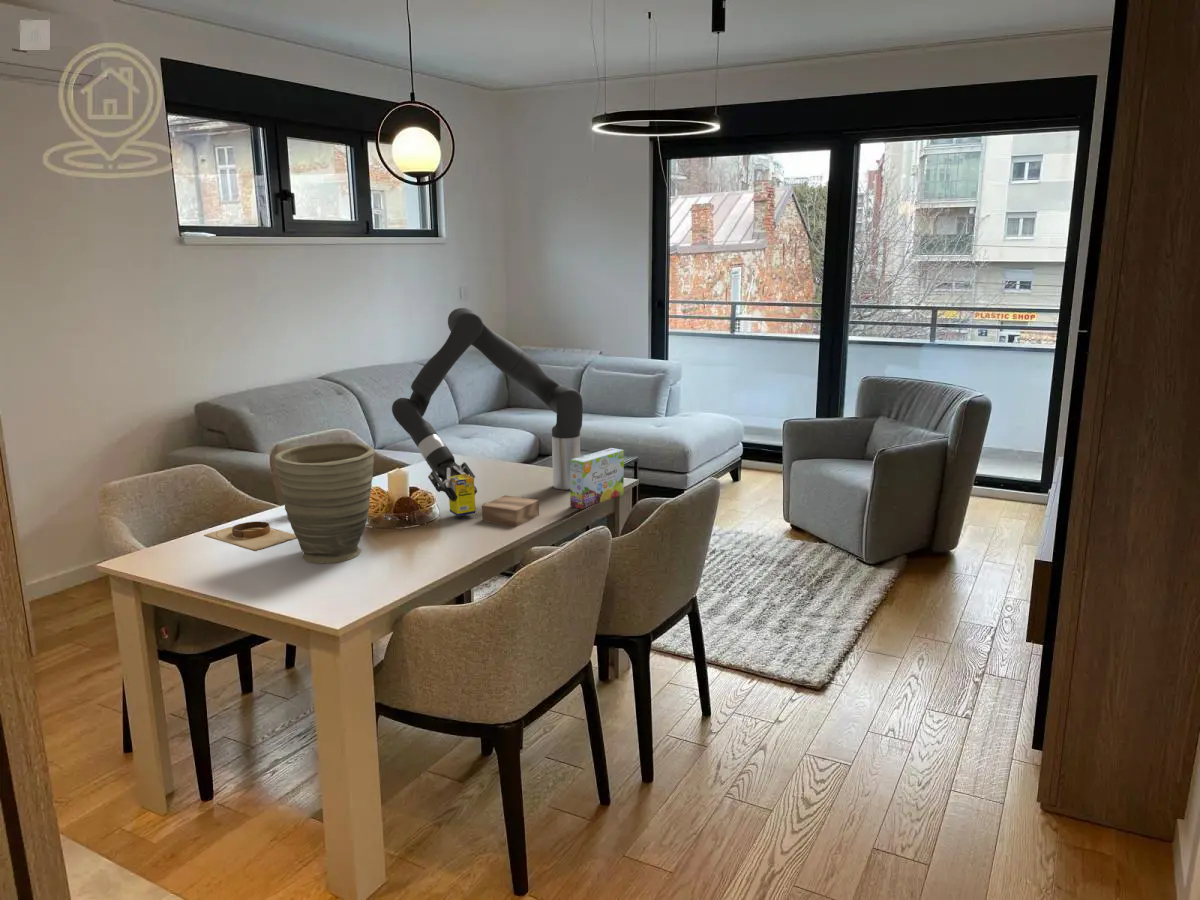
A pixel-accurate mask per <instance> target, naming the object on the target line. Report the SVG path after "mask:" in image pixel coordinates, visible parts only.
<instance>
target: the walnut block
mask: <svg viewBox="0 0 1200 900" xmlns="http://www.w3.org/2000/svg"><path fill="white" fill-rule="evenodd" d="M539 501H540V499H534V498H526V497H519V496H518V497H517V496H513V495H506V494H505V495H503V496H500V497H498V498H496V499H493V500H490V501H489V502H487V503H485V504H482V505H481V519H482V520H481V521H482V522H487V523H494V524H500V525H506V526H512V527H518V526H520V525H522V524H524V523H526V522H529V521H531V520H533V519H535V518H537V517H539V516H540V502H539Z"/></svg>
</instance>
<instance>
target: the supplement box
mask: <svg viewBox="0 0 1200 900" xmlns="http://www.w3.org/2000/svg"><path fill="white" fill-rule="evenodd" d="M450 479H451V480H450V488H452V489H453V491H454V492H455V494H456V495H457V499H456V501H454V502H452V501H451V500H450V499H449V498H448V502H449V504H448V505H449V512H450V513H451V514H453V515H455V517H461V516H467V515H473V514H476V512H477V511H476V494H475V491H474V485H475V478H473V477H471V476H470V475H467V474H461V475H455V476H452V477H450Z"/></svg>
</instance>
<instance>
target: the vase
mask: <svg viewBox="0 0 1200 900" xmlns="http://www.w3.org/2000/svg"><path fill="white" fill-rule="evenodd" d="M374 453H375V449H374V447H372V446H370V445H368V444H365V443H359V442H353V441H352V442H351V441H350V442H319V443H314V444H307V445H301V446H296V447H292V448H289V449H285V450H282V451H280V452H278V453H277V454H275V455H274V460H275V467H276V471H277V477H278V478H279V482H280V492H281V494H282V497H283V501H284V510H285V512H286V516H287V520H288V522H289V524H290V527H291V530H292V531H293V534H295V535H296V537H297V539H296V540H297V541H298V545H299V546H300V549H301V551H302V553H303V554H302V555H301V558H302V559H303V560H304V561H305V562H307V563H310V564H311V563H312V564H333V563H341V562H345V561H349V560H352V559H355V558H356V557H358V556H359V555H360V554H361V552H362V550H361V549H362V548H360V547H359V543H360V542H361V538H362V535H363V534H364V532H365V529H366V524H367V522H368V517H369V511H370V510H369V509H370V507H371V504H370V498H371V489H372V486H373V485H372V482H373V478H374V477H373V476H374V475H373V472H374V464H375V461H374V460H375V458H374V457H375V455H374Z"/></svg>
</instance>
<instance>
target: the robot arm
mask: <svg viewBox="0 0 1200 900" xmlns="http://www.w3.org/2000/svg"><path fill="white" fill-rule="evenodd" d="M447 326H448V329H449V331H450V333H449V336H448V337H447V339H446V341H445V342H444V344H443V345H442V347H440V349H439V350H438V351H437V352H436V353H435V354H434V355H433V356H432V357H431V358H430V359H429V360H428V361H426V363H425V364H424V365H423V367H422V368H421V369H420V371H419V372H418V374H417V375H416V377H415V378H414V379H413V381H412V382H411V385H410V388H411V391H412V393H411V395H410V397H409V398H407V397H400V398H397V399H395V400H394V401H393V403H392V406H391V413H392V415H393V417H394V420H396V422H397V423H398V424H399V426H400V427H401V428H403V430H404V431H405V432H406V433H407V434H408V435H409V436H410V438H411V439H412V441H413V443H414V444H415V445H416V447H417V448H418V450H419V452H420V454H421V456H422V458H423V459H424V460H425V462H426V464H427V465H428V466H429V468H430V469H431V472H430V473H429V475H428V477H427V478H428V480H429V481H430V483H431V484H432V485H433V487H434V489H435V490H436V492H438V493H440V492H443V493H445V495H446V496H447V497H448V500H449V499H450V500H451V501H452V502H454V501H456V499H457V495H456V494H455V492H454V491H453V489H452V488H450V480H451V479H450V477H452V476H455V475H461V474H467V475H469V476H471V477H473V478H474V479H475V478H476V475H475V474H474V473H473V471H472V470H471V468H470V467H469V466H468V464H467V462H463V463H461V464H458V463H456V461H455V456H454V455H453V453H452V452H451V450H450V449H449V447H448V446H447V445H446V443H445V441H444V440H443V439H442V438H441V437H440V436H439V434H438V433H437V431H436V430H435V429H434V427H433V426H432V424H431V423H429V421H427V420H426V419H424V415H425V414H426V411H427V409H428V407H429V404H430V401H431V398H432V396H433V395H434V393H435V392H436V390H437V389H438V387H439V386H440V385H441V383H442V382H443V380H444V379H445V377H446V376H447V374H448V373H449V371H450V370H451V369H452V367H453V366H454V365H455V364H456V362H457V361H458V360H459V359H460V358H461V356H463V355H464V353H465V352H466V351H467V350H468V349H469V348H470V347H471V346H472V347H474V348H475V349H476V350H478V351H480V352H481V354H483V355H484V357H486V359H488V361H490V362H491V363H492V365H494V366H495V367H496V369H499V370H500V372H502V373H503V374H505V375H506V376H507V377H508V378H509V379H511V380H513V381H514V382H516V383H517V384H519V385H520V386H522V387H523V388H525V389H526V390H528V391H529V392H531V393H533V394H534V395H535V396H536V397H537V398H538V399H540V401H542V403H544V404H545V405H546V406H547V407H548V408H549V410H551V411H552V412H553V413H555V414H556V423H555V425H554V426H553V427H552V428H551V447H552V448H551V452H552V456H551V457H552V459H551V460H552V487H553V488H554V489H556V490H557V489H558V490H563V491H564V490H567V491H568V490H570V460H571V459H574V458H578V457H581V429H582V426H583V415H584V414H583V410H584V407H583V399H582V398H583V397H582V395H581V393H580V392H579V391H578V390H576V389H574V388H572V387H569V386H566V385H565V386H564V384H561V383H558V382H557V381H555V380H554V379H553V378H551V377H550V376H548V375H547V374H546V373H545V372H544V371H543V370H542V368H541V366H540V365H539V364H538V363H537V361H535V359H534V358H533V357H532V356H530V355H529V354H528V353H526V352H525V351H524V350H523V349H521V348H520V347H519V346H518V345H516V344H514V343H513V342H511V341H510V340H508V339H506V338H505V337H503V336H501V335H500V334H497V333H496V332H494V331H493V330H492V329H490V327H488V326H487V325H486V324H485V323H484V322H483V320H482V318H481V316H480V315H478V314H477V313H476V312H475V311H474V310H471V309H470V308H466V307H458V308H455V309H454V310H452V311H451V312H450V313H449V315H448V317H447ZM474 491H475V495H476V494H477V493H478V488H477V487H476V486H475V484H474Z"/></svg>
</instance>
